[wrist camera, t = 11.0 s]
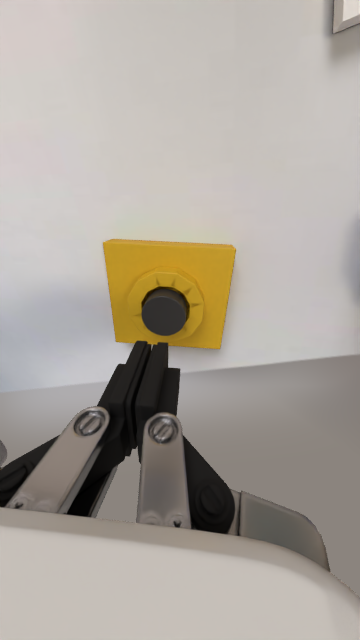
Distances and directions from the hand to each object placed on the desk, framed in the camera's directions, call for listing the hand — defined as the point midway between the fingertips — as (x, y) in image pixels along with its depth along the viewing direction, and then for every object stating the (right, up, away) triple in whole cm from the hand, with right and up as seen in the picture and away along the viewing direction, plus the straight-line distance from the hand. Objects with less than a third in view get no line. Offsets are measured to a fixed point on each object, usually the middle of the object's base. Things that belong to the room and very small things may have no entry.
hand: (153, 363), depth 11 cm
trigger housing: (0, +5, +10) cm, 11 cm away
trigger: (0, +3, +7) cm, 8 cm away
